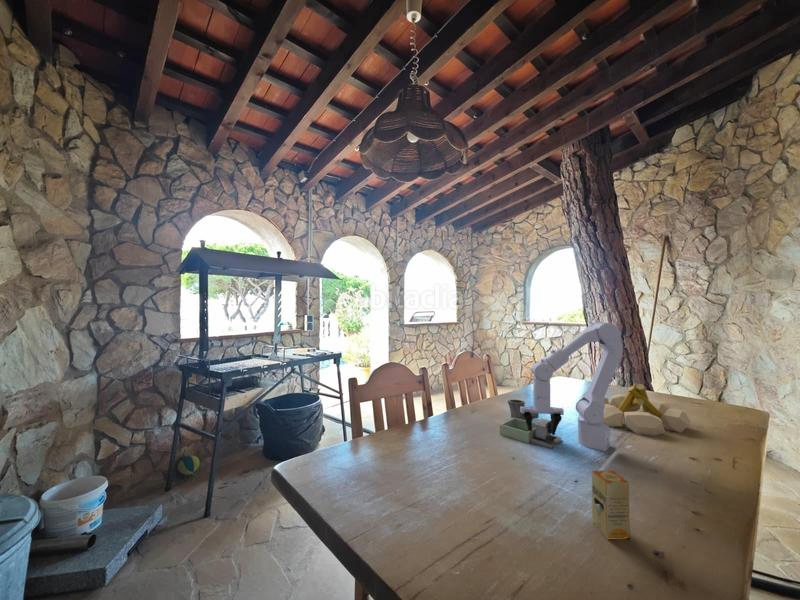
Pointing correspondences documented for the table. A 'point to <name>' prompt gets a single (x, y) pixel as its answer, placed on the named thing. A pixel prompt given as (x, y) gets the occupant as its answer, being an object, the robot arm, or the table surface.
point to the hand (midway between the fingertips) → (541, 433)
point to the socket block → (552, 444)
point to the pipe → (518, 409)
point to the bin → (517, 430)
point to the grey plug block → (543, 430)
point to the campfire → (643, 413)
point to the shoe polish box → (610, 504)
